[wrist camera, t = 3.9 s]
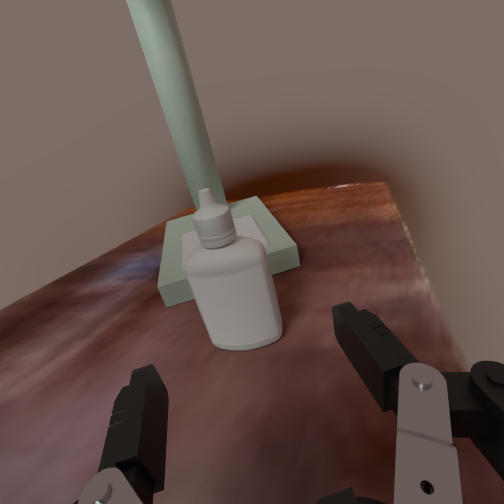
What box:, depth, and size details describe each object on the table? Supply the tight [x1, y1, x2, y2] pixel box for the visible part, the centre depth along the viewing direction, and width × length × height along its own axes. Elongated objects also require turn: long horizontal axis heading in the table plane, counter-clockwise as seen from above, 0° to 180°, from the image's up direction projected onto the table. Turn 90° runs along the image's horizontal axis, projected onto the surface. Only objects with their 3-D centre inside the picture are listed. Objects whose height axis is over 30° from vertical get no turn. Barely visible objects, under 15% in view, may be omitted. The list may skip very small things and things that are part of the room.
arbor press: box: [126, 0, 300, 307], centre depth 29 cm, size 18×20×35 cm
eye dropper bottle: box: [184, 188, 282, 350], centre depth 20 cm, size 4×6×12 cm
